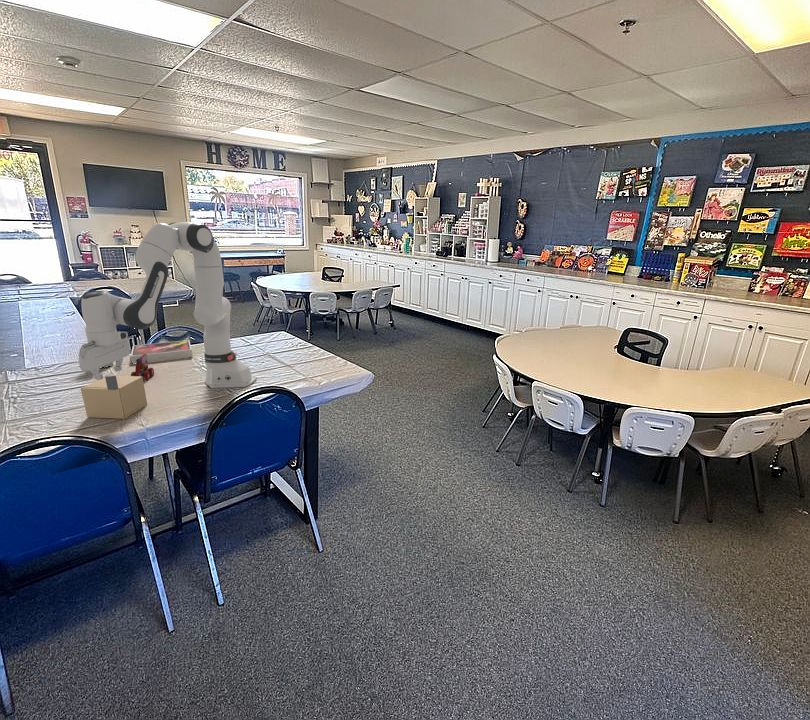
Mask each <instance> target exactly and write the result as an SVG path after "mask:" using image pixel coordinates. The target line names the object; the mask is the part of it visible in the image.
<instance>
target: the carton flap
mask: <svg viewBox="0 0 810 720" xmlns="http://www.w3.org/2000/svg"><path fill="white" fill-rule="evenodd" d="M116 376H117V375H115V376H108V375H105V376H104V377H105V379H106V384H107V389H106V388H83V387H80V392H81V395H82V402H83V404H84V408H85V409H84V410H85V413H86V417H87V418H96V419H97V418H98V419H99V418H100V419H120V420H123V419H125V418H124V413H123V408H122V403H121V398H120V393H119V389H118V384H117V379H116Z"/></svg>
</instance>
